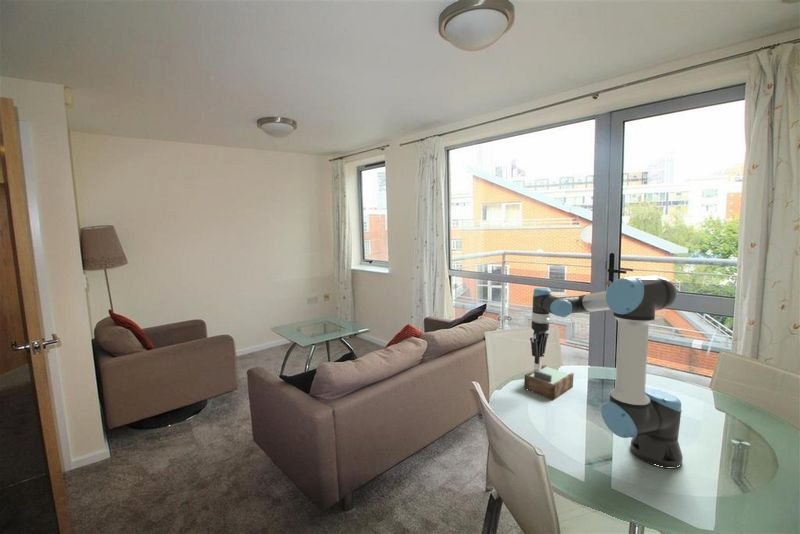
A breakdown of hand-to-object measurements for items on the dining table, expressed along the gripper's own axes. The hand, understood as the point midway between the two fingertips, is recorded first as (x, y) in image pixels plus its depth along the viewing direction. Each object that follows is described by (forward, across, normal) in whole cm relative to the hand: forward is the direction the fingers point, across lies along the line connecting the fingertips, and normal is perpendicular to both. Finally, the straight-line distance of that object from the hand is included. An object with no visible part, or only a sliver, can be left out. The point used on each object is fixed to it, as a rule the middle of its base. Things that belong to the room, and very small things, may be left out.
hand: (537, 369), depth 171 cm
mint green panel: (+7, +12, 0) cm, 14 cm away
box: (+13, +11, 0) cm, 17 cm away
